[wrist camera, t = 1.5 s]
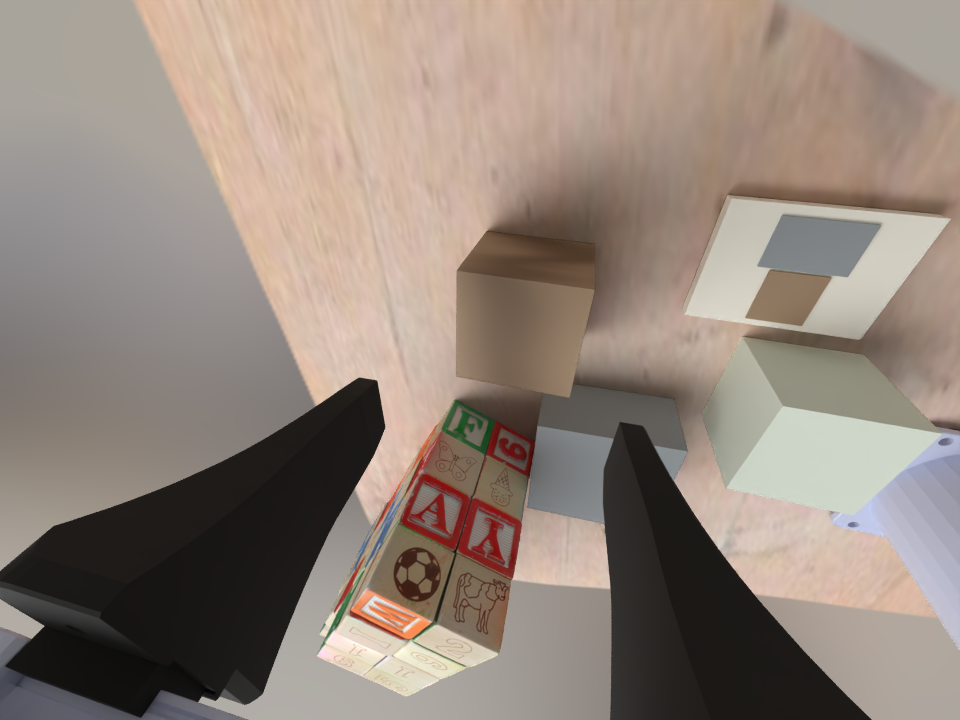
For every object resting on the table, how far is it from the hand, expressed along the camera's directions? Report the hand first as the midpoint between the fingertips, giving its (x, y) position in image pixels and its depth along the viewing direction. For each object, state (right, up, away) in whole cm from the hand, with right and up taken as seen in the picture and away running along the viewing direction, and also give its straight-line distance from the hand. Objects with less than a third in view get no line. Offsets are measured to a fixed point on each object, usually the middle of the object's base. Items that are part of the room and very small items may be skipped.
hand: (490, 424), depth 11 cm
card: (+13, +6, +4) cm, 15 cm away
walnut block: (+2, +6, +8) cm, 10 cm away
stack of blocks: (-4, -9, +20) cm, 22 cm away
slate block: (+7, -2, +12) cm, 14 cm away
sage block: (+14, +1, +8) cm, 16 cm away
